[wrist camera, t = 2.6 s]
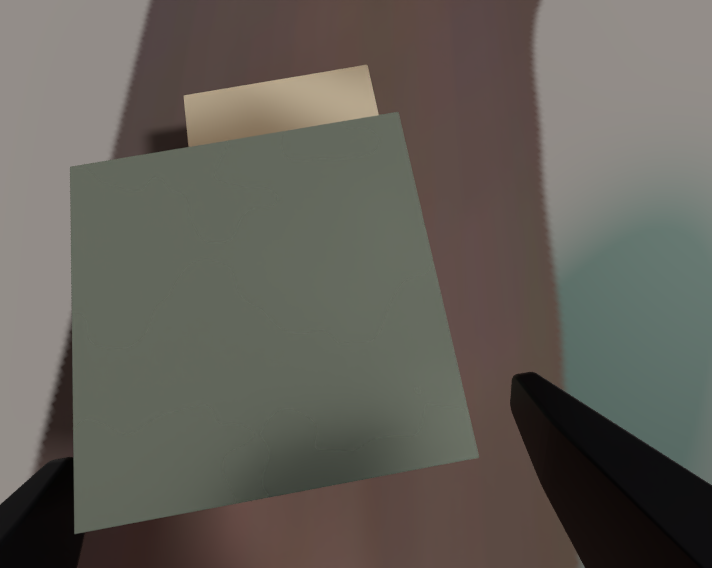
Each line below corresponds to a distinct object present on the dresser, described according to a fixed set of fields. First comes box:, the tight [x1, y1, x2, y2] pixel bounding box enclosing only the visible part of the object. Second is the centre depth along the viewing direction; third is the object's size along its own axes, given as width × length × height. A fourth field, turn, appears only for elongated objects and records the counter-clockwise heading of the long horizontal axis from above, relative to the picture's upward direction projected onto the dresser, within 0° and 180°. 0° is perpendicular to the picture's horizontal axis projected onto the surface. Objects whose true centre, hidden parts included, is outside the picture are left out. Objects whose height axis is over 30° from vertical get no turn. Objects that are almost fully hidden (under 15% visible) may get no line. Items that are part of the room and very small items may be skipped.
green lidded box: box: [70, 112, 479, 534], centre depth 12 cm, size 6×6×12 cm
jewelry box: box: [184, 65, 379, 147], centre depth 19 cm, size 8×8×3 cm
